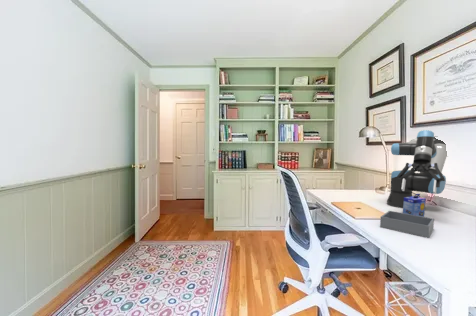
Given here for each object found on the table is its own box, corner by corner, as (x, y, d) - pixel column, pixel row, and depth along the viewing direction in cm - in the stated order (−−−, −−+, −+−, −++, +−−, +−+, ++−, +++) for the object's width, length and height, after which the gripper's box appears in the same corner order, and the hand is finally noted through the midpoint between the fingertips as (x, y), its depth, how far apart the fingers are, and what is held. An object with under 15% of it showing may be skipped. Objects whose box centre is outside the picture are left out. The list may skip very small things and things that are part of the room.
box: (388, 220, 121) (389, 210, 121) (433, 229, 108) (433, 218, 108) (380, 227, 111) (380, 216, 110) (428, 238, 98) (429, 226, 97)
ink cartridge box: (413, 223, 116) (414, 194, 116) (401, 220, 121) (403, 192, 121) (424, 221, 120) (426, 193, 120) (413, 218, 125) (414, 191, 125)
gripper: (394, 153, 137) (388, 186, 130) (451, 152, 117) (448, 191, 111) (398, 159, 141) (393, 191, 134) (454, 159, 121) (450, 196, 115)
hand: (417, 191), depth 123 cm, fingers open, 13 cm apart
